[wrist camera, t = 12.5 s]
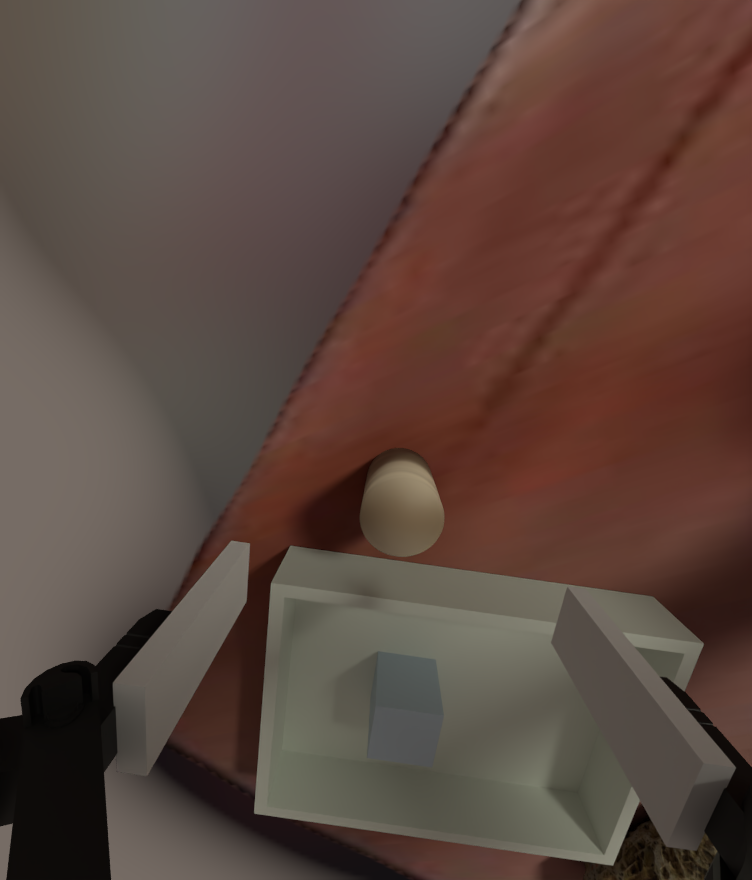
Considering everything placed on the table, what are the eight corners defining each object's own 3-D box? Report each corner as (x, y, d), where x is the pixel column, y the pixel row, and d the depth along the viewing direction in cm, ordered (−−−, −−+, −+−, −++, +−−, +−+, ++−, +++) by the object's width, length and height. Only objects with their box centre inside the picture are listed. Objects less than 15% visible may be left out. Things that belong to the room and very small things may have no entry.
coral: (683, 777, 34) (745, 867, 28) (721, 814, 35) (789, 909, 29) (559, 849, 37) (592, 945, 31) (597, 882, 38) (636, 981, 32)
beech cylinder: (371, 443, 28) (365, 473, 21) (436, 452, 28) (451, 485, 21) (363, 504, 29) (355, 550, 22) (425, 512, 29) (436, 561, 22)
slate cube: (435, 659, 31) (444, 715, 26) (425, 705, 33) (432, 767, 28) (378, 651, 31) (375, 705, 27) (370, 697, 33) (366, 757, 28)
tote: (290, 545, 30) (271, 582, 25) (652, 596, 30) (704, 643, 25) (272, 749, 35) (253, 813, 30) (582, 794, 35) (612, 865, 30)
